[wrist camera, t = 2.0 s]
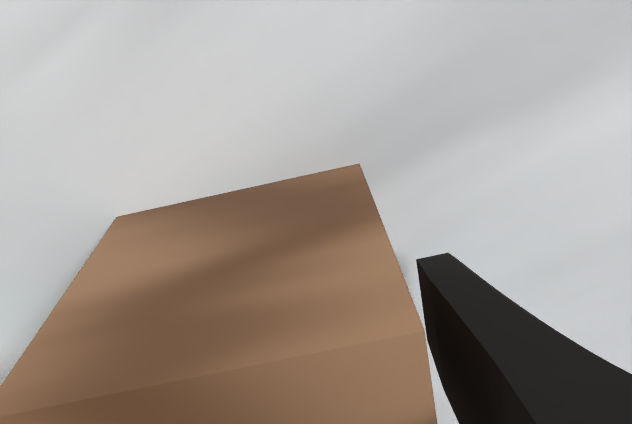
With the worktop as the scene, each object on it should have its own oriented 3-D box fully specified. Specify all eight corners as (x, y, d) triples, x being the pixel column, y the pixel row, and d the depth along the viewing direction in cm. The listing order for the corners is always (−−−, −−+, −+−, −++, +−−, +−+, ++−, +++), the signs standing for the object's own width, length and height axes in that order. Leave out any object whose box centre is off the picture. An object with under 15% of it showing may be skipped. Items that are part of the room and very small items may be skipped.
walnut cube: (359, 161, 9) (424, 330, 5) (392, 347, 12) (458, 577, 7) (118, 214, 10) (-24, 421, 5) (196, 387, 12) (144, 634, 8)
